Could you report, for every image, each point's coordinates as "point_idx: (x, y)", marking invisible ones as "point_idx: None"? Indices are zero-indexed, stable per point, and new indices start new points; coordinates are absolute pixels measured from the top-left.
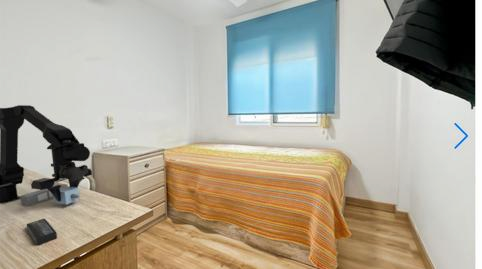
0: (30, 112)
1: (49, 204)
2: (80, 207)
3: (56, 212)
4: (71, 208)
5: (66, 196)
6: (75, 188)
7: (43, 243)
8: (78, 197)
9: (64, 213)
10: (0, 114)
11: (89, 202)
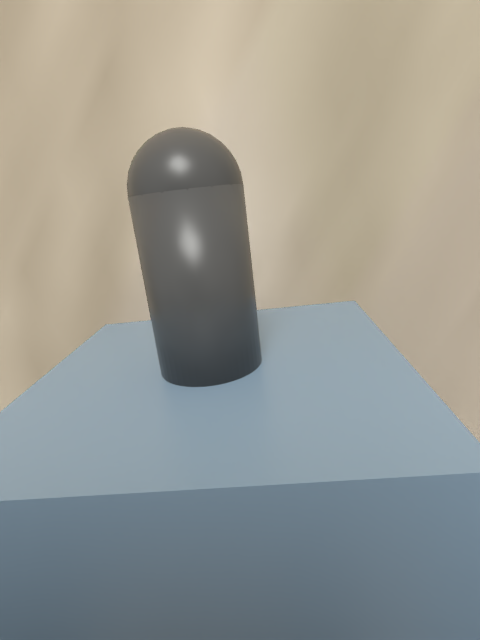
0: None
1: None
2: (218, 105)
3: (475, 294)
4: (301, 223)
5: (379, 364)
6: (1, 497)
7: None
8: (101, 339)
9: (475, 113)
10: None
11: (32, 182)
